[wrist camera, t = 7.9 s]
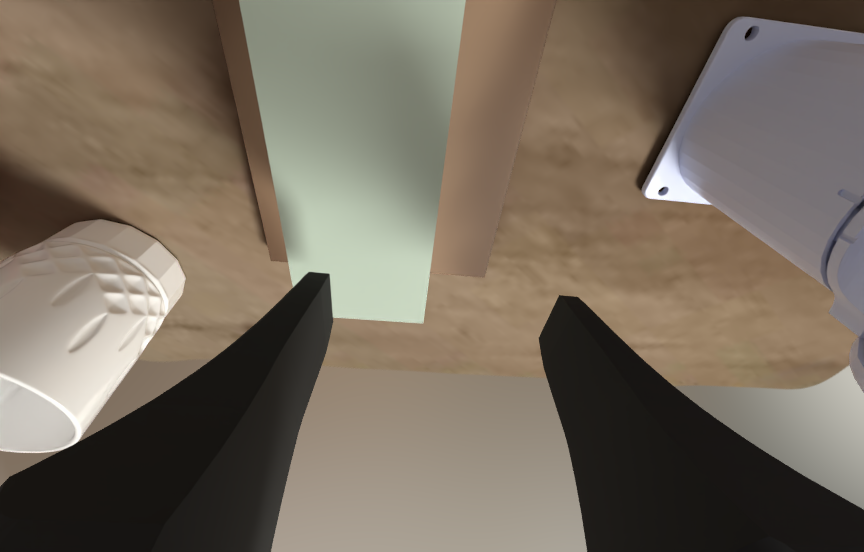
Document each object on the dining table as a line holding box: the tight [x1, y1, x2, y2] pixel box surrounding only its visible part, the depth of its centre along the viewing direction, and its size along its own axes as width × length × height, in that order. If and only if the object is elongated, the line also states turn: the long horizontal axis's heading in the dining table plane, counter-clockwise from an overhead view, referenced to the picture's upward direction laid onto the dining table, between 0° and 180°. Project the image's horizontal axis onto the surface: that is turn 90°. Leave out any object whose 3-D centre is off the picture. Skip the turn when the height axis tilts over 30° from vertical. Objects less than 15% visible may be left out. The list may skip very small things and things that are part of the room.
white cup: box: [0, 219, 186, 453], centre depth 18 cm, size 8×8×10 cm
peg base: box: [212, 0, 556, 277], centre depth 14 cm, size 13×20×4 cm, turn 174°
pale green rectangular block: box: [239, 0, 466, 323], centre depth 11 cm, size 14×5×4 cm, turn 174°
